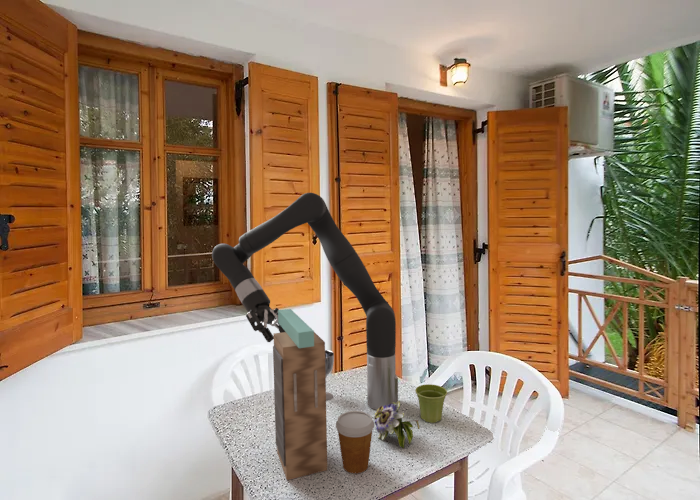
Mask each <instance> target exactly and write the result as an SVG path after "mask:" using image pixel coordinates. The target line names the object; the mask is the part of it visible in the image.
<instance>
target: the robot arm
mask: <svg viewBox="0 0 700 500" xmlns="http://www.w3.org/2000/svg"><path fill="white" fill-rule="evenodd" d="M305 224H307V225H308V226H309V227H310V228H311V230H312V231H313V232H314V233H315V235H316V236H317V238H318V240H319V242H320V244H321V247H322V249H323V252H324V254H325V257H326V259H327V261H328V263H329V265H330V266H331V268H332V270H333V271H334V273H335V274H336V276H337V277H338V278H339V281H341V282H342V283H343V285H344V286H345V287H346V288H347V289H348V290H349V291H350V292H351V293H352V294H353V295H354V296H355V298H356V299H357V300H358V302H359V304H360V306H361V308H362V309H363V312H364V314H365V316H366V319H365V320H366V321H365V323H366V324H365V325H366V326H365V329H366V330H365V332H366V334H365V337H366V371H367V372H366V377H367V378H366V382H367V383H366V386H367V387H366V388H367V390H366V392H367V395H366V396H367V397H366V400H367V401H366V402H367V403H366V404H367V406H368V407H369V408H370V409H373V410H376V411H377V409H378V408H380V406H382V407H383V406H385V405H386V406H387V405H388V404H390V403H391V402H392V403H393V402H394V403H395V404H396V403H397V402H398V401H399V377H398V375H396V345H397V343H396V338H397V336H396V334H397V331H396V330H397V328H396V326H397V324H396V323H397V321H396V315H395V314H396V313H395V311H394V308H393V307H392V306H391V305H390V304H389V302H388V301H387V300H386V299H385V297H383V295H382V294H381V292H380V291H379V290H378V288H377V287H376V285H375V284H374V282H373V279H372V278H371V275H370V273H369V272H368V269H367V268H366V266H365V264H364V262H363V261H362V259H361V258H360V256H359V254H358V253H357V251H356V250H355V248H354V247H353V245H352V244H351V242H350V241H349V240H348V238H347V237H346V236H345V235H344V233H343V232H342V230H340V228H339V227H338V226H337V224H336V222H335V220H334V218H333V216H332V215H331V213H330V210H329V209H328V206H327V204H326V201H325V199H324V198H323V197H321V196H320V195H319V194H317V193H314V192H305V193H303V194H301V195H300V196H299V197H298V198H296V200H294V201H293V202H292V203H291V204H290V205H289V206H287V207H286V208H284V210H282V211H280V212H279V213H278V214H276V215H275V216H273V217H271V218H270V219H267V220H266V221H265V222H262V223H260V224H258V225H257V226H256V227H253V228H252V229H250V230H248V231H247V232H245V233H243V234H242V235H240V236H239V238H238V244H236V245H235V246H231V244H230V245H229V244H227V243H219V244H216V246H214V248H213V249H212V252H211V257H212V261H213V263H214V264H215V266H216V268H218V270H220V271H221V274H223V275H224V276H225V278H226V279H228V281H229V283H230V284H231V286H232V288H233V290H234V292H235V293H236V295H237V297H238V299H239V301H240V302H241V304H242V306H243V307H244V309H245V310H246V312H247V313H246V314H245V318H246V319H247V320H248V322H249V324H250V326H251V327H252V329H253V331H254V332H257V331H258V332H259V333H261V335H262V336H263V338H264V340H265V341H266V342H267V343H271V342H272V341H274V334H273V333H272V331H271V330H270V329H269V328H268V325H270V326H271V327H274V328H277V330H278V333H282V332H285V330H284V329H283V328H282V327H281V325H280V324H279V323H278V310H280V309H279V308H277V307H276V308H275V309H272V308H271V307H270V305H271V300H270V298H269V296H268V295H267V293H266V292H265V291H264V289H263V287H262V286H261V284H260V282H259V281H258V280H257V279H256V278H255V276H254V275H253V273H252V272H251V270H250V269H249V267H247V266H245V264H244V263H246V261H248V260H249V259H250V258H251V257H252V256H253V255H254V254H256V253H257V252H259V251H260V250H262V249H264V248H266V247H267V246H269V245H271V244H272V243H274V242H275V241H277V239H279V238H280V237H282V236H284V235H285V234H286V233H288V232H289V231H291V230H293V229H295V228H297V227H300V226H302V225H305Z"/></svg>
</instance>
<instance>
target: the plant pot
mask: <svg viewBox="0 0 700 500" xmlns="http://www.w3.org/2000/svg"><path fill="white" fill-rule="evenodd" d="M414 391H415V394H416V396H417V398H418V405H419V413H420V419H422V420H423V421H424V422H427V423H431V424H434V423H437V422H440V421H441V420H442V416H443V410H444V404H445V399H446V396H447V395H448V390H447V389H446V388H445V387H443V386H440V385H437V384H432V383H431V384H430V383H428V384H421V385H419V386H416V388H415V389H414Z"/></svg>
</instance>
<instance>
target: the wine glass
mask: <svg viewBox="0 0 700 500" xmlns="http://www.w3.org/2000/svg"><path fill="white" fill-rule="evenodd" d="M334 353H335V352H333V351H332V350H328V349H327V350H326V349H325V373H326V378H327V377H328V376H329V375H330V374H331V372H332V371H333V367H334V364H335V363H334V361H335V355H334ZM333 398H334V394H333V393H331V392H330V391H329V392H328V391H326V402H327V401H331V400H332V399H333Z"/></svg>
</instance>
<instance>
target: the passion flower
mask: <svg viewBox="0 0 700 500" xmlns="http://www.w3.org/2000/svg"><path fill="white" fill-rule="evenodd" d="M400 407H401V401H400V400H398V402H397V403H396V404H395V403H394V402H393V403H392V402H391V403H390V404H388V405H387V406H386V405H385V406H383V407H382V406H380V408H378V409H377V410H376V412H375V413H374V418H373V419H374V420H375V421H374V426H375V427H376V429H375V430H376V431H377V433H379V434H378V437H377V439H381V440H382V441H385V440H387V438H388V436H389V434H390V435H393V434H395V435H396V437H397V441H398V445H399V447H400V448H402V449H405V443H406V438H407V442H408V445H409V446H410V445H411V444H412V441H413V438H414V431H413V428H414V425H413V423H412V422H415V423H416V425H417V430H420V428H421V427H420V423H419V419H418V420H417V419H416V420H412V422H411V420H404V421H403V418H405V413H404V412H401V411H399V409H400ZM405 434H406V436H405Z"/></svg>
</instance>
